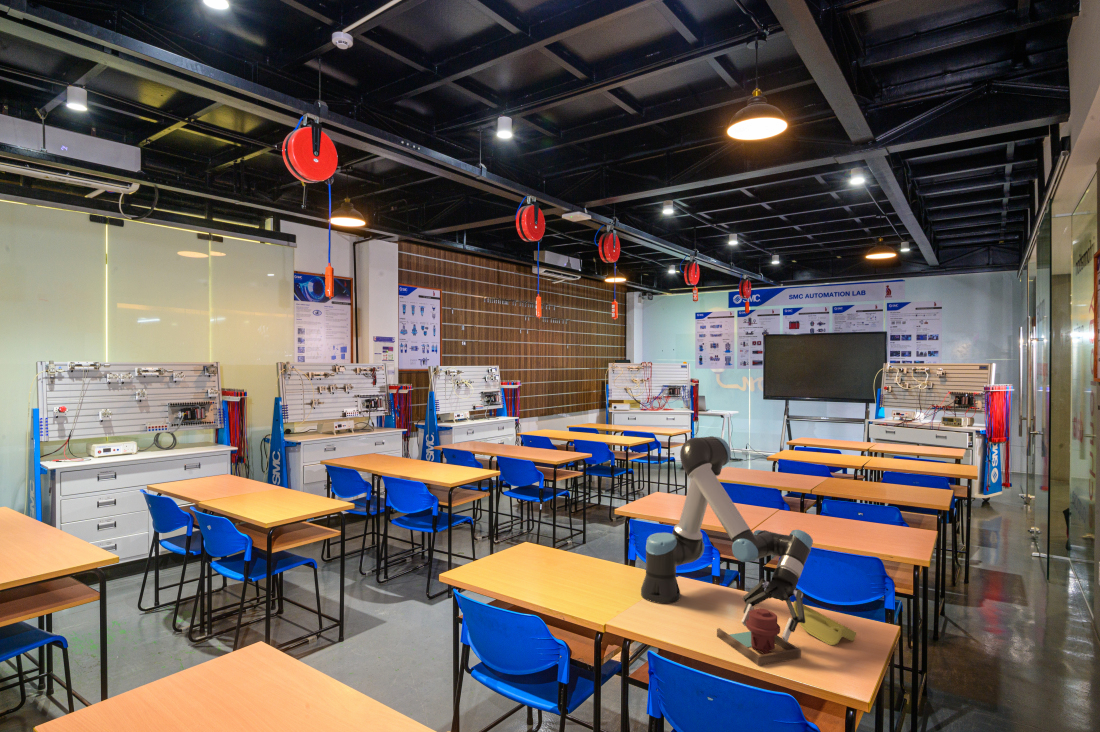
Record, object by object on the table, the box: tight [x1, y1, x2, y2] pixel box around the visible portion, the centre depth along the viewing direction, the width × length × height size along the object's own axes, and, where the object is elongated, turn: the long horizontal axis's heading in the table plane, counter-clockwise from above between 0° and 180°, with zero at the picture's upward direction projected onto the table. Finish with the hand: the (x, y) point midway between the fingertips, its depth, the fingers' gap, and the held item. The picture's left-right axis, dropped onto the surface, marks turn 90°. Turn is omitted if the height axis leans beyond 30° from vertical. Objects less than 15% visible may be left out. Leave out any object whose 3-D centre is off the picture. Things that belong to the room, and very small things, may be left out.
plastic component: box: [792, 600, 857, 646], centre depth 189 cm, size 20×7×10 cm
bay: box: [716, 627, 802, 667], centre depth 177 cm, size 20×16×2 cm
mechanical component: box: [745, 608, 781, 655], centre depth 174 cm, size 12×10×10 cm
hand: (763, 631), depth 173 cm, fingers open, 13 cm apart
